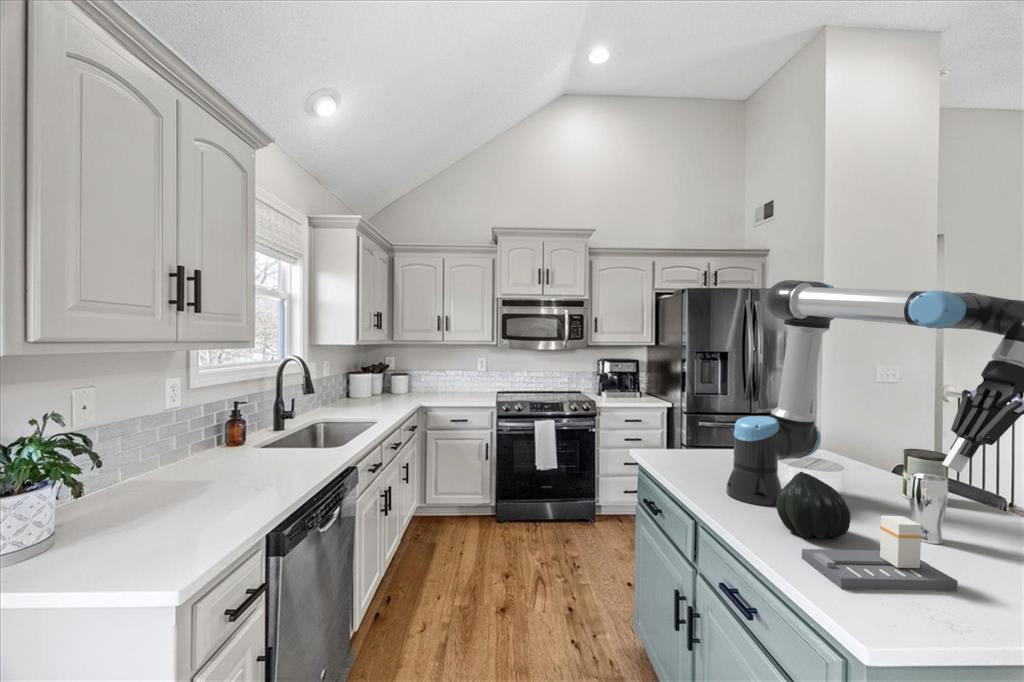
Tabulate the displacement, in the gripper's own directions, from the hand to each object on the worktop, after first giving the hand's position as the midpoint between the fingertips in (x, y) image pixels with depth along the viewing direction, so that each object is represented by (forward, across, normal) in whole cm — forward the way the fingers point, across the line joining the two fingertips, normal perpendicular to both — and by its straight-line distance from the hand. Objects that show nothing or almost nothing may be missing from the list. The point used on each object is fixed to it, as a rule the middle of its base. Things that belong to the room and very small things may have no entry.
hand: (951, 468), depth 95 cm
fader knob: (+22, -4, +3) cm, 22 cm away
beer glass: (+17, +15, -16) cm, 28 cm away
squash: (+28, +14, +8) cm, 33 cm away
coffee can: (+10, +46, -35) cm, 59 cm away
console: (+26, -5, +6) cm, 27 cm away
